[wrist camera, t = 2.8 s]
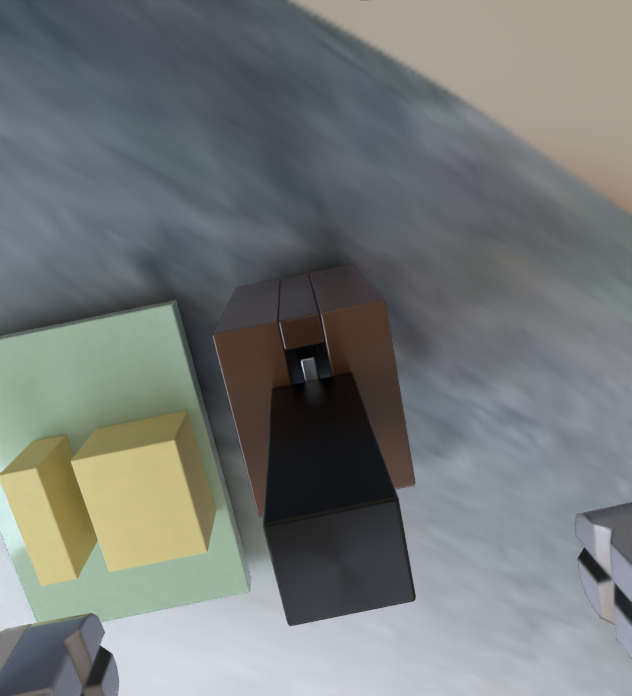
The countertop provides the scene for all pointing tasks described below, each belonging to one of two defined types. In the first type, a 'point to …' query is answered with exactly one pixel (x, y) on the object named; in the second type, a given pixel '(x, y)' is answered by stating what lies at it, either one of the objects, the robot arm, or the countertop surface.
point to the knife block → (282, 365)
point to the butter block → (146, 491)
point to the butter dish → (101, 411)
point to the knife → (331, 503)
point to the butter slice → (50, 509)
